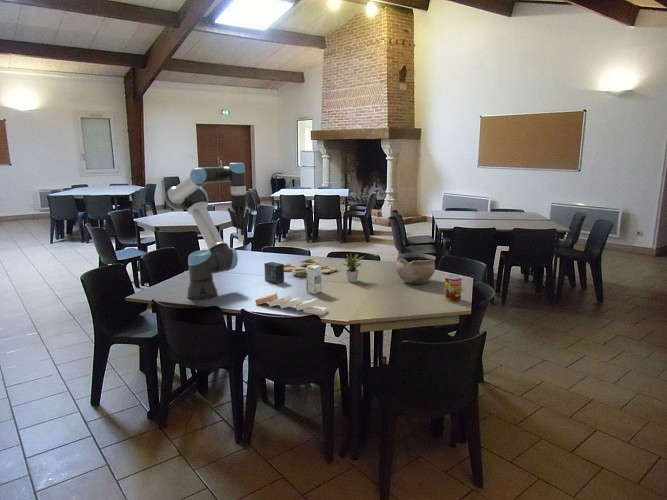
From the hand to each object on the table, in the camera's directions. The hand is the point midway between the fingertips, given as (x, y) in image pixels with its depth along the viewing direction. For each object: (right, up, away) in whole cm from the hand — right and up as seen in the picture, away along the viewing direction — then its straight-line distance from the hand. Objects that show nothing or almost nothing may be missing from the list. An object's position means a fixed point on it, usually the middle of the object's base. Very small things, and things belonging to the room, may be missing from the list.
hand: (241, 241), depth 251 cm
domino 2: (+17, -31, -8) cm, 36 cm away
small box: (+13, -23, +35) cm, 44 cm away
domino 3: (+23, -31, -11) cm, 40 cm away
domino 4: (+30, -31, -15) cm, 46 cm away
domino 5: (+34, -32, -16) cm, 50 cm away
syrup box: (+36, -27, +13) cm, 47 cm away
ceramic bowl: (+93, -23, +29) cm, 100 cm away
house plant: (+58, -23, +32) cm, 70 cm away
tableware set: (+30, -18, +60) cm, 69 cm away
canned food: (+106, -30, -4) cm, 110 cm away
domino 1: (+10, -30, -5) cm, 32 cm away
